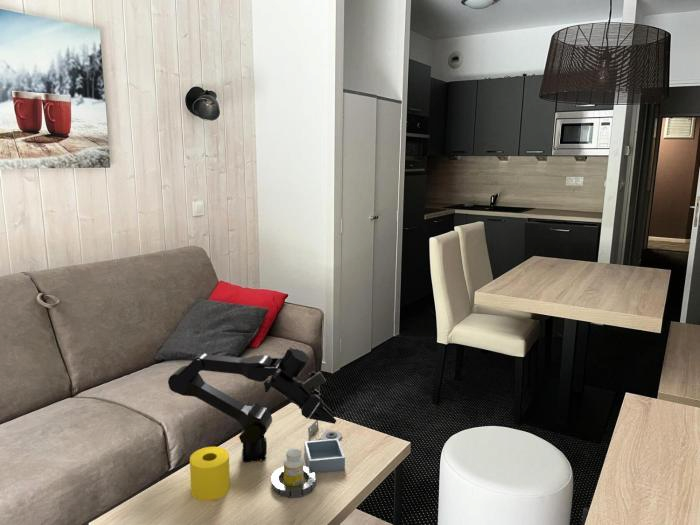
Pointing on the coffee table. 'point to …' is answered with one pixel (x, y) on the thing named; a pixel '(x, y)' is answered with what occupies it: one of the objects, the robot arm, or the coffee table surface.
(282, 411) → the coffee table surface
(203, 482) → the yellow paper roll
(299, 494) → the socket ring
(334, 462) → the bin
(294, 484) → the supplement bottle
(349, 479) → the coffee table surface
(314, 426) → the bracket
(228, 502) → the coffee table surface
